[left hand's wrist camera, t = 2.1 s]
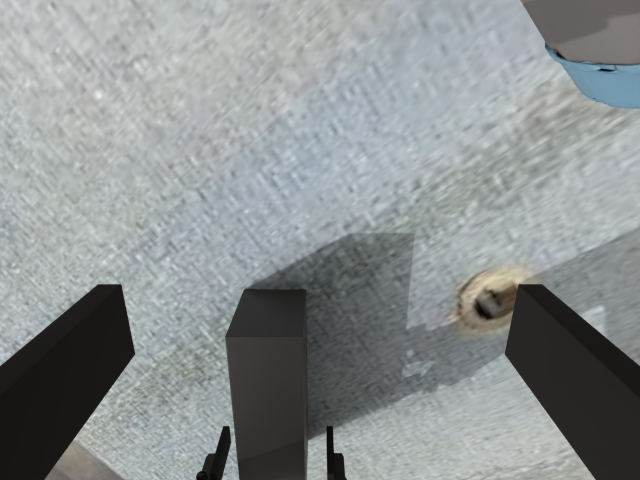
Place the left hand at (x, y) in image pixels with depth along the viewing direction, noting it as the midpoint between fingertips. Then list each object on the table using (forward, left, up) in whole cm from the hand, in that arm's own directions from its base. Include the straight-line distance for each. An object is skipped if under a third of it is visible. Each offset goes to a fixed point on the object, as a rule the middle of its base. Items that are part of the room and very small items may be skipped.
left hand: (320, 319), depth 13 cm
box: (+25, +1, -28) cm, 38 cm away
